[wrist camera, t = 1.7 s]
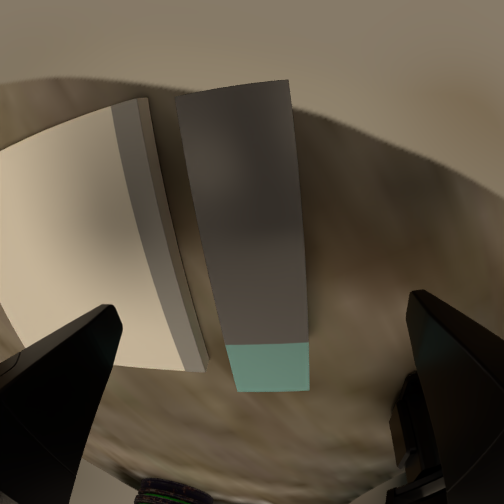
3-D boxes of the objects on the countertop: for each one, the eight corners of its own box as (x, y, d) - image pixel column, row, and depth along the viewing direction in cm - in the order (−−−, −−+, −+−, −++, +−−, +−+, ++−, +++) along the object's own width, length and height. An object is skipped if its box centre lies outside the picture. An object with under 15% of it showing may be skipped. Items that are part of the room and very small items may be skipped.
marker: (287, 85, 11) (288, 79, 8) (307, 336, 16) (309, 390, 13) (205, 96, 11) (174, 96, 8) (246, 339, 16) (237, 391, 13)
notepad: (147, 97, 11) (136, 98, 10) (209, 359, 17) (205, 372, 17) (-36, 172, 14) (-46, 177, 13) (33, 342, 20) (26, 351, 19)
